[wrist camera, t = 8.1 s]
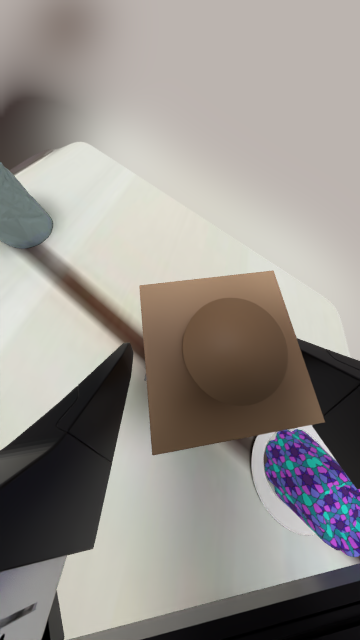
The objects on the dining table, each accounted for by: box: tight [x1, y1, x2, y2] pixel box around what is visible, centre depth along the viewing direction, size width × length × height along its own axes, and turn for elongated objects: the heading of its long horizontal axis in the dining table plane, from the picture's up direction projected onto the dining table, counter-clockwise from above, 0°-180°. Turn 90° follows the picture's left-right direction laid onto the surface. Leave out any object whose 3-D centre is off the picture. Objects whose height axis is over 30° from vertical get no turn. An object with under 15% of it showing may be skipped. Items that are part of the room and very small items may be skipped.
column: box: [140, 271, 325, 455], centre depth 10 cm, size 4×4×14 cm
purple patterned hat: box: [252, 425, 360, 557], centre depth 14 cm, size 12×12×5 cm
